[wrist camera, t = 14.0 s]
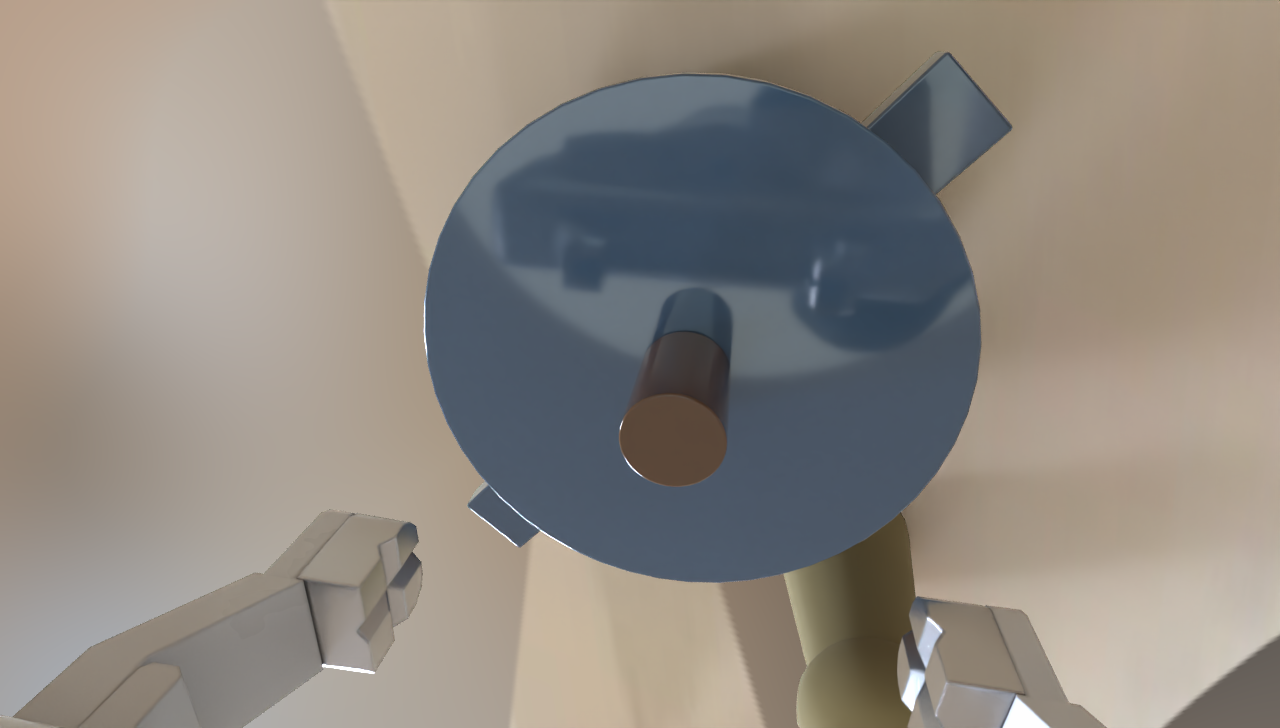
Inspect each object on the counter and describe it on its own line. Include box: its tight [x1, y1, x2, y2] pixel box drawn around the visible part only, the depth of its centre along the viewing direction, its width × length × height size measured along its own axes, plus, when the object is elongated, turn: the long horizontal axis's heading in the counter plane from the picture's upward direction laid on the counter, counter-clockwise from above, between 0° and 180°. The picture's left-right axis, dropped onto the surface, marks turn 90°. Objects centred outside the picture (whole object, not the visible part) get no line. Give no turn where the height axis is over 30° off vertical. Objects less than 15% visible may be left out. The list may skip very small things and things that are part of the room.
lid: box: [424, 72, 981, 583], centre depth 17 cm, size 15×15×5 cm
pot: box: [467, 51, 1012, 547], centre depth 23 cm, size 14×19×10 cm
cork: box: [784, 513, 916, 728], centre depth 27 cm, size 6×6×11 cm
